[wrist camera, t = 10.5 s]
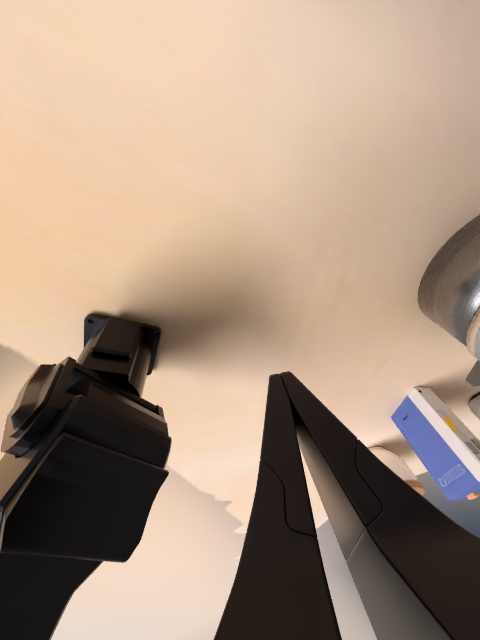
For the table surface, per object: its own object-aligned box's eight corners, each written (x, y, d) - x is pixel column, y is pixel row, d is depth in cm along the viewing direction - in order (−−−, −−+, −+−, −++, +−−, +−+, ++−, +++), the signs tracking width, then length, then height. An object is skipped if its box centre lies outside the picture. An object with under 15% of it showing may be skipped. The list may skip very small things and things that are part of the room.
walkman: (405, 416, 40) (469, 501, 30) (390, 417, 40) (450, 504, 30) (430, 385, 35) (515, 474, 26) (414, 386, 35) (494, 477, 25)
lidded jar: (352, 443, 44) (383, 505, 36) (405, 437, 45) (446, 495, 37) (336, 469, 50) (360, 527, 42) (383, 463, 51) (414, 518, 44)
